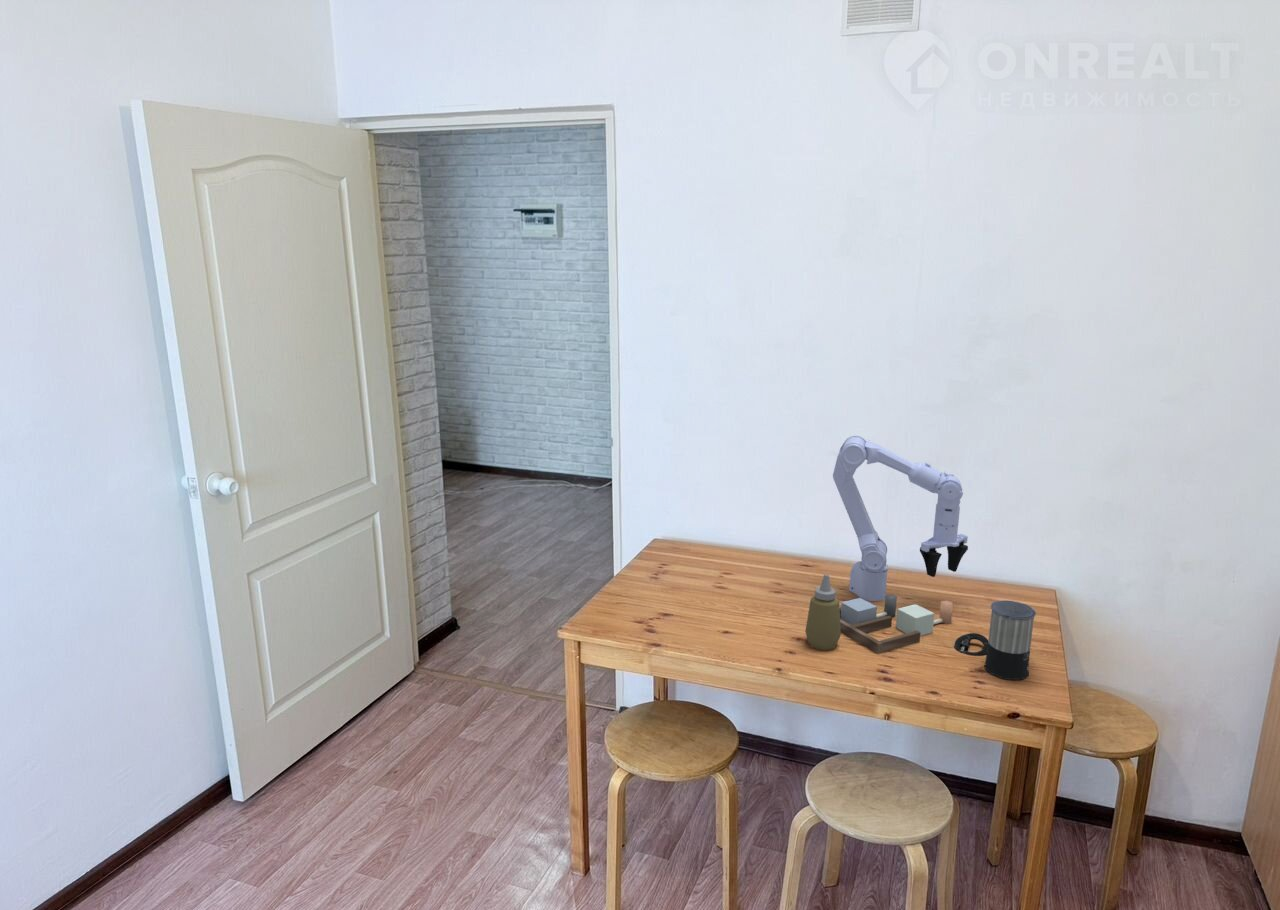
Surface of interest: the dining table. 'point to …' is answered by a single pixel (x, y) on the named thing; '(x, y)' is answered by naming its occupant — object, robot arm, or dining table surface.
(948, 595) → the dining table surface
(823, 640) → the squeeze bottle
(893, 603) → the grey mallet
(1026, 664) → the milk frother
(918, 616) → the sage cube mallet
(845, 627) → the shelf
